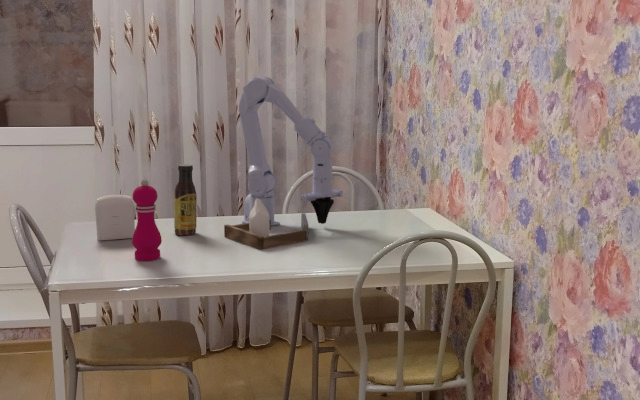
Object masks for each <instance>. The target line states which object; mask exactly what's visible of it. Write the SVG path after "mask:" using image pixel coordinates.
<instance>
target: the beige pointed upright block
mask: <svg viewBox="0 0 640 400" xmlns="http://www.w3.org/2000/svg"><path fill="white" fill-rule="evenodd" d="M249 229H250V232H252V233H255V234H258V235H261V236H264V237H266V236H271V235H270V234H271V233H270V232H271V230H270V224H269V213H268V210H267V209H266V207H265V206H264V205H263V203H262V201H261V200H260V199H258V198H257V199H256V200H255V203H254V207H253V208H252V210H251V212H250V215H249Z"/></svg>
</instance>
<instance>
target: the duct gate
mask: <svg viewBox="0 0 640 400" xmlns="http://www.w3.org/2000/svg"><path fill="white" fill-rule="evenodd" d="M300 215H301V217H300V218H301V219H300V221H301V222H300V223H301V224H300V225H301V226H300V227H301V230H305V225H308V226H309V223H308V218H307V215H306V213H305V212H302V213H301V214H300Z"/></svg>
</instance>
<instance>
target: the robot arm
mask: <svg viewBox="0 0 640 400" xmlns="http://www.w3.org/2000/svg"><path fill="white" fill-rule="evenodd" d="M242 91H243V92H242V94H241V97H240V100H239V101H240V102H239V104H238V112H239V116H240V122H241V128H242V131H243V136H244V141H245V142H244V143H245V146H246V151H247V157H248V162H249V169H248V174H247V175H248V181H247V189H248V192H249V194H248V195H246V197H245V199H244V201H243V202H244V203H243V207H244V209H243V211H244V212H243V213H244V217H243V219H244V220H241V224H244V223H249V215H250V212H251V210H252V208H253V207H254V203H255V200H256V199H257V198H258V199H260V200H261V201H262V203H263V205H264V206H265V207H266V209H267V210H268V213H269V220H271V227H272V226H279V225H281V222H279V221H276V220H275V192H274V189H275V188H276V186H277V178H276V176H275V174H273V171H272V168H271V166H270V164H269V163H268V160H267V156H266V149H265V145H264V140H263V134H262V129H261V124H260V118H259V113H258V111H259V109H260V107H261V106H262V105H263V104H264V102H267V103H271V104H273V105H276V106H277V107H278V108H279V109H280V111H282V112H283V113H284V114H285V115H286V117H288V118H289V120H290V121H291V122H292V123H293V124H294V128H293V129H294V131H295V132H296V133H297V134H298V136H299V137H300V138H301V139H302V140H303V141H304V142H305V144H306V145H307V146H308V147H310V153H311V154H312V157H313V159H312V161H313V162H312V191H311V192H308V193H305V194H300V202H302V203H308V202H310V203H311V206H312V207H313V210H314V213H315V215H316V219H317V223H319V224H321V225H324V224H326V223H327V219H328V216H329V213H330V210H331V208H332V206H333V205H334V202H335V200H334V199H332V198H338V197H339V198H341V197H343V196H344V195H343V194H344V192H343V190H342V189H333V152H334V150H335V142H334V141H333V139H332V137H330V136H328V135H327V133H326V131H322V130H321V129H320V128H319V126H318V125H317V124H316V122H317V121H316V119H314V118H311V117H310V116H306V115H305V116H304V115H302V114H301V112H300V110H299V109H298V108H297V107H296V105H295V104H294V103H293V102H292V100H291V99H290V98H289V97H288V96H287V95H286V93H285V92H284V90H282V87H280V86H279V84H277V83H275V82H274V80H273V79H272V78H270V77H269V76H262V77H251V78H250V79H249V80H248V81H247V82H246V83H245V85H243V86H242Z"/></svg>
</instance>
